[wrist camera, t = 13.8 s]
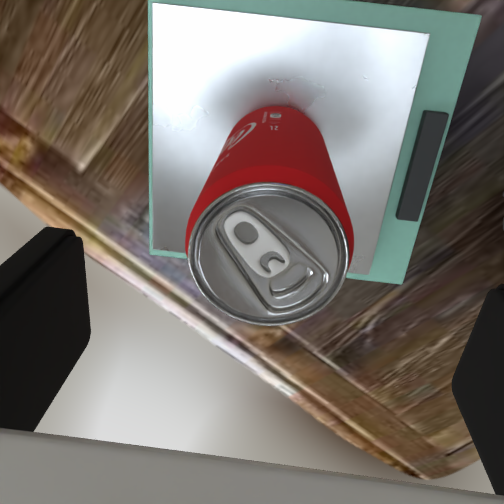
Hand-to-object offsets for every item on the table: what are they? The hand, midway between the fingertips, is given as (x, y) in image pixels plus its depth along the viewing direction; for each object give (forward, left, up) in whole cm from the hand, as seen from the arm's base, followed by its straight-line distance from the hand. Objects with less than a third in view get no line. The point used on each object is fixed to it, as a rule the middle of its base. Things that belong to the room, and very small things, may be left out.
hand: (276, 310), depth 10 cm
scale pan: (0, 0, -16) cm, 16 cm away
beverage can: (0, 0, -15) cm, 15 cm away
